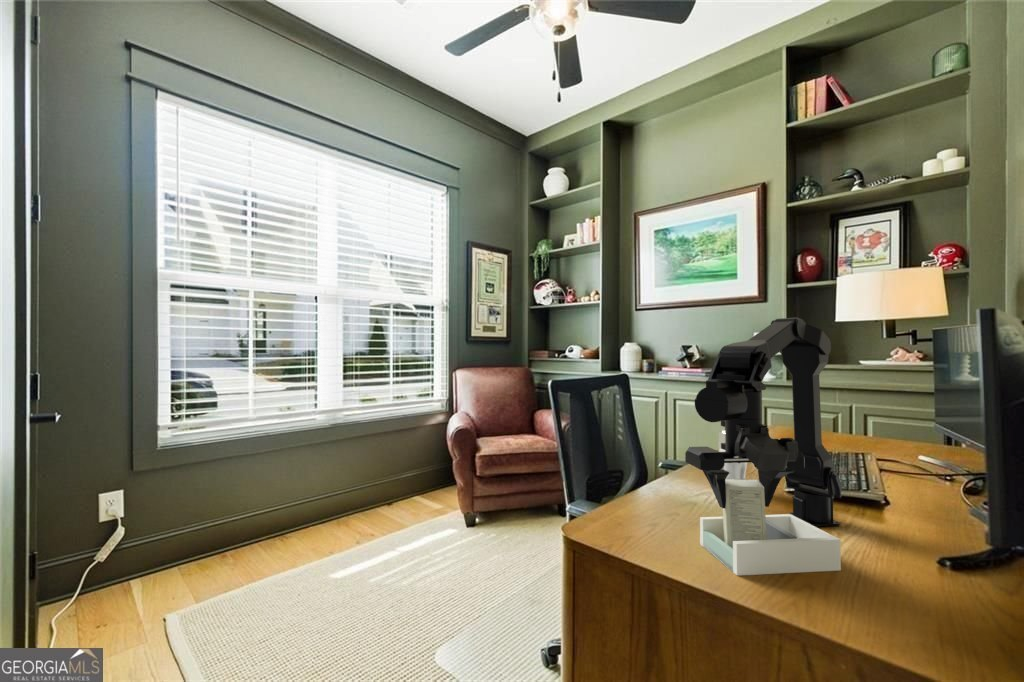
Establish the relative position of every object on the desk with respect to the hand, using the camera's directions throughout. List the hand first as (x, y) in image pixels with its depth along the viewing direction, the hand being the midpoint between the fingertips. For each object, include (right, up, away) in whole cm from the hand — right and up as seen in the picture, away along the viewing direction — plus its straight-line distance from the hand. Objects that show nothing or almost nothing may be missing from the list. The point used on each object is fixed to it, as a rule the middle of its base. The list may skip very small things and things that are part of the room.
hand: (744, 506), depth 75 cm
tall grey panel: (+6, -8, 0) cm, 10 cm away
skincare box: (0, -8, 0) cm, 8 cm away
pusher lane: (+4, -9, 0) cm, 10 cm away
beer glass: (+17, -10, +36) cm, 40 cm away
